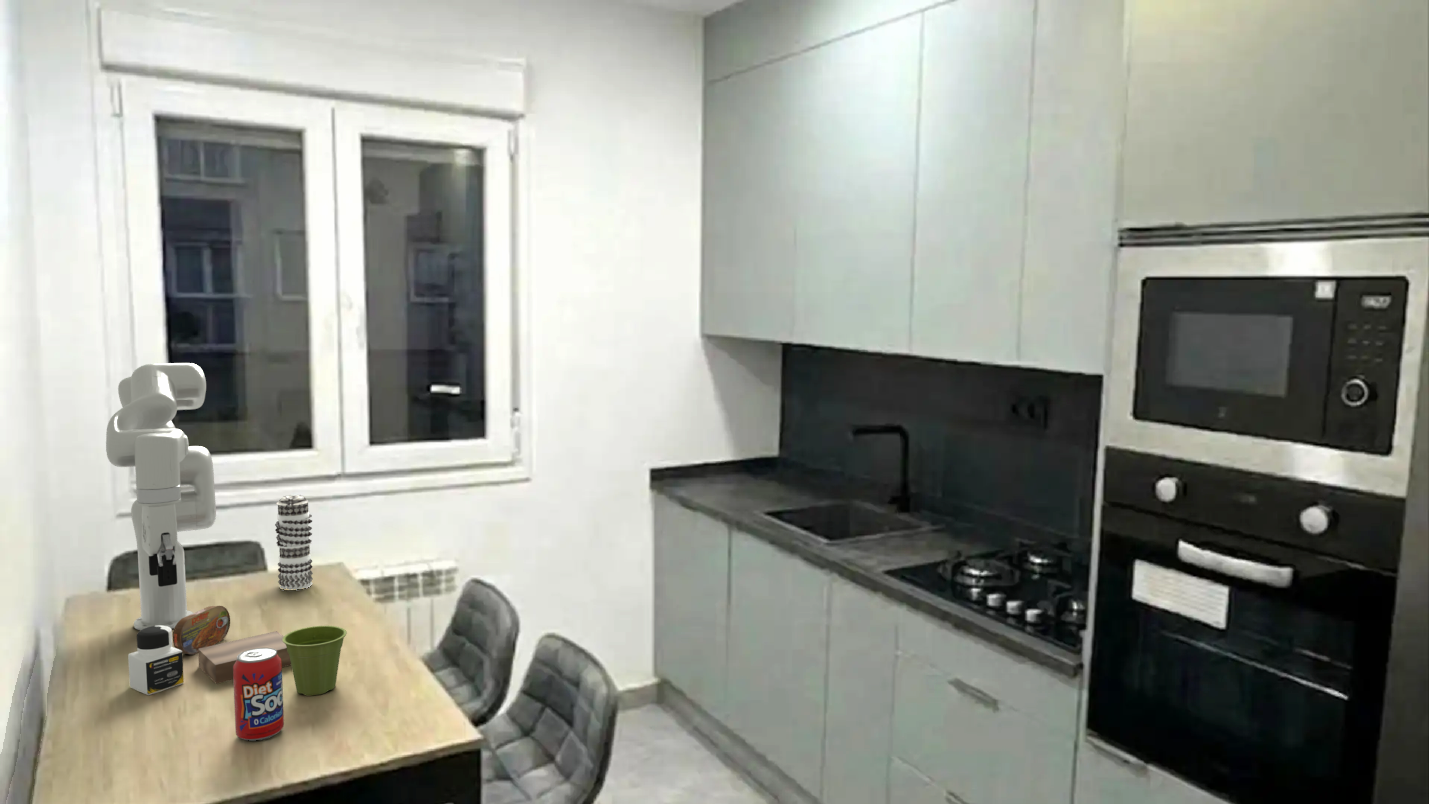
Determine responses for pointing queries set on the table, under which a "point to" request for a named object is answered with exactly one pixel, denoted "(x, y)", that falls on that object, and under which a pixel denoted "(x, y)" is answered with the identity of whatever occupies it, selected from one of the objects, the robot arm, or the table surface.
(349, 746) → the table surface
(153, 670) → the medicine bottle
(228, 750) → the table surface
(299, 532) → the decorative candle
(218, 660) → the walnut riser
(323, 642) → the plant pot
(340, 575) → the table surface
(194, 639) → the tin
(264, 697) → the soda can
